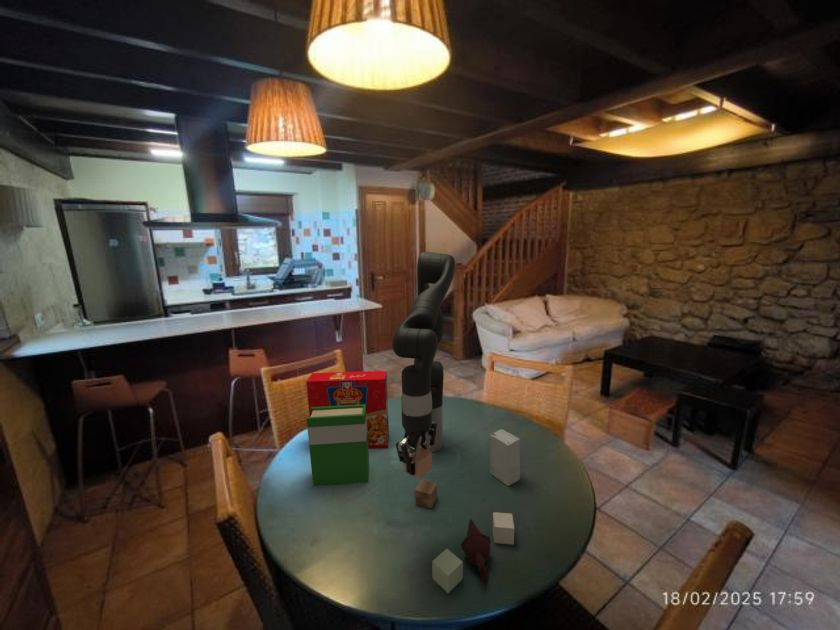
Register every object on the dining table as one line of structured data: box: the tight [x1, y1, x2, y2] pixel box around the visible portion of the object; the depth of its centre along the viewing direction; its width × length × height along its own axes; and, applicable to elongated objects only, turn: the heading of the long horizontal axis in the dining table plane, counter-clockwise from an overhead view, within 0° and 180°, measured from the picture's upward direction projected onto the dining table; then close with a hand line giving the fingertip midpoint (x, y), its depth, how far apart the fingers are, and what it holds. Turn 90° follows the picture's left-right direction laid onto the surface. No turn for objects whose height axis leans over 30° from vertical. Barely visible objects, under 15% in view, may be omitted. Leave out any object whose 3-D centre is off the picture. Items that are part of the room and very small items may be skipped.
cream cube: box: [492, 511, 515, 545], centre depth 95 cm, size 5×5×5 cm
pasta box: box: [305, 370, 390, 450], centre depth 136 cm, size 28×8×28 cm, turn 92°
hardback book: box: [306, 404, 370, 487], centre depth 117 cm, size 18×7×24 cm, turn 95°
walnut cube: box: [414, 479, 438, 510], centre depth 108 cm, size 5×5×5 cm
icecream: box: [460, 519, 491, 583], centre depth 89 cm, size 7×7×15 cm
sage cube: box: [431, 548, 464, 594], centre depth 84 cm, size 5×5×5 cm
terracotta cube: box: [403, 446, 433, 480], centre depth 92 cm, size 5×5×5 cm
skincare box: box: [489, 428, 521, 487], centre depth 117 cm, size 8×6×15 cm
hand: (418, 467), depth 92 cm, fingers closed on terracotta cube, 5 cm apart
